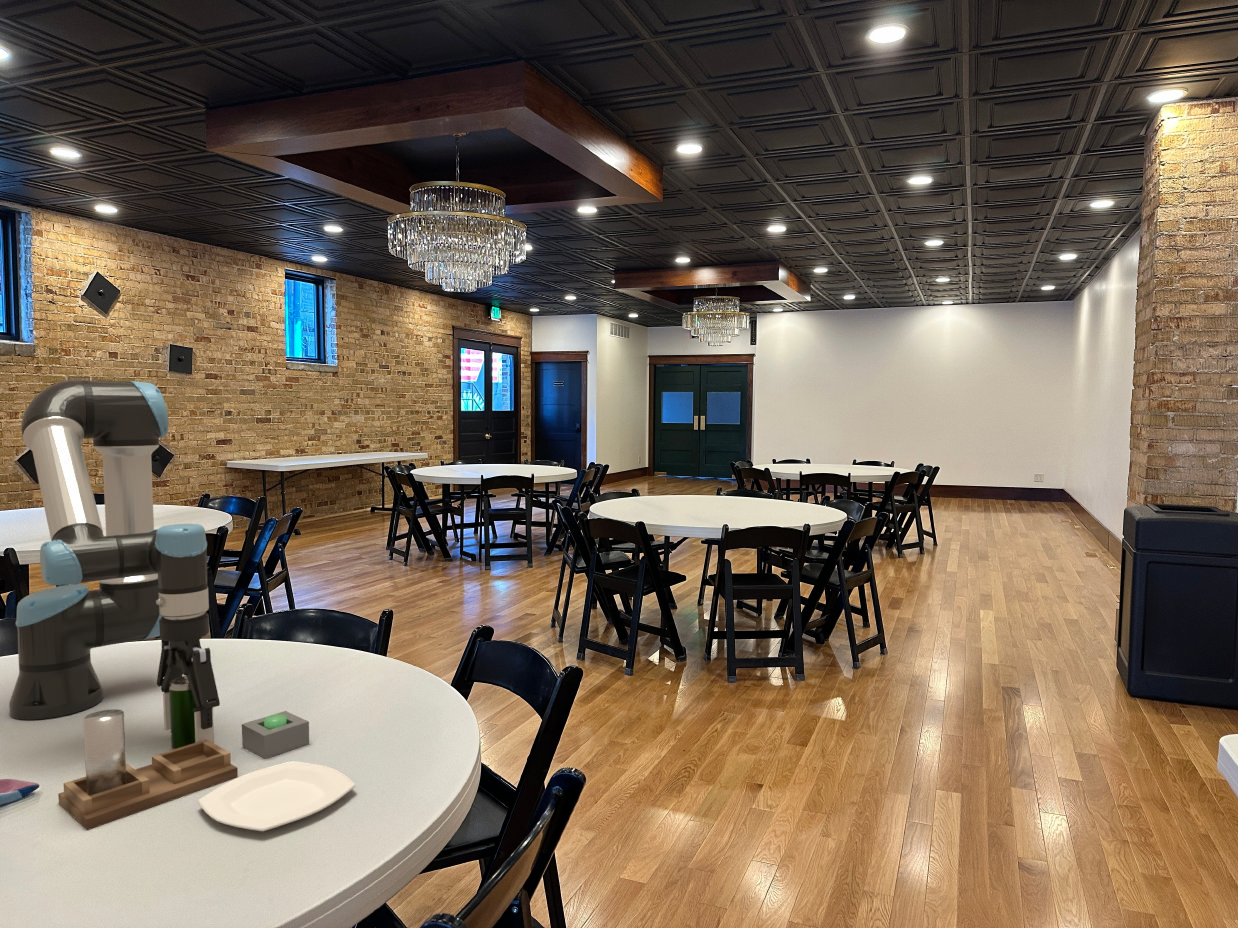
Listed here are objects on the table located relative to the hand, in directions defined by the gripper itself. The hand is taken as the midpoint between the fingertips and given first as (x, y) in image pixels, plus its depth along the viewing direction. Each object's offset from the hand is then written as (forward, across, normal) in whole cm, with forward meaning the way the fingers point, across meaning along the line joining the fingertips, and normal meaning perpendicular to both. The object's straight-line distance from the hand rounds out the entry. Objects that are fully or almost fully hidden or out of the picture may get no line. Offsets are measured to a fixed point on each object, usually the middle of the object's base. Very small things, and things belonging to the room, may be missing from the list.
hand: (188, 736), depth 139 cm
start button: (0, +11, +10) cm, 15 cm away
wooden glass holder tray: (+2, +12, -10) cm, 16 cm away
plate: (+3, +31, 0) cm, 31 cm away
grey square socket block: (+2, +11, +10) cm, 15 cm away
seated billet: (0, +12, -16) cm, 20 cm away
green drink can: (+2, 0, 0) cm, 2 cm away
